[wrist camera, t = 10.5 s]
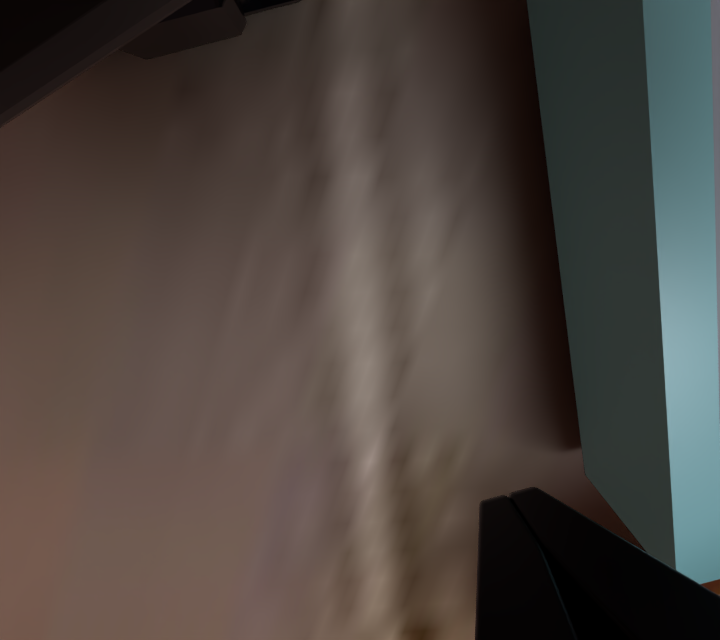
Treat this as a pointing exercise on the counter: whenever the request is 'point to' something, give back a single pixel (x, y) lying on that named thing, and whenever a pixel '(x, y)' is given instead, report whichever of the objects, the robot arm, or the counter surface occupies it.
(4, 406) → the counter surface
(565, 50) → the sliding tray
